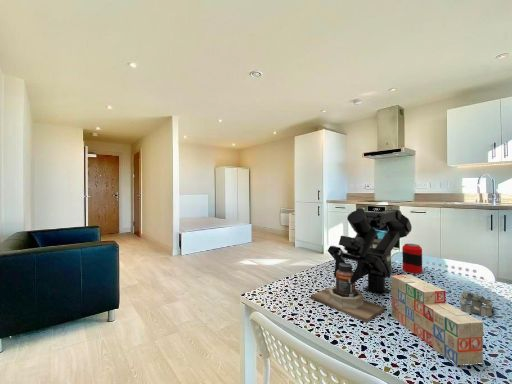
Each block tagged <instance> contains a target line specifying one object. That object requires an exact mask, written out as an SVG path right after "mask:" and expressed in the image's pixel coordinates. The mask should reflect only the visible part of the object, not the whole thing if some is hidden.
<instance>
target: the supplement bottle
mask: <svg viewBox="0 0 512 384" xmlns="http://www.w3.org/2000/svg"><path fill="white" fill-rule="evenodd" d="M339 268H340V269H338V270H337V271H336V277H335V286H336V295H339V296H341V297H352V298H354V297H356V296H355V289H356V282H354V283H353V284H352V283H350V280H351V277H352V275H353V273H354V271H355V270H354V271H353V266H352V264H351V263H348V262H346V263H340V264H339Z"/></svg>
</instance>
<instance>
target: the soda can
mask: <svg viewBox="0 0 512 384" xmlns="http://www.w3.org/2000/svg"><path fill="white" fill-rule="evenodd" d="M401 249H402V251H401V253H402V270H403V272H405V273H409V274H418V273H419V274H422V273H423V249H422V247H421V245H420V244H416V243H405V244H404V245H403V246H402V248H401Z"/></svg>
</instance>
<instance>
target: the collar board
mask: <svg viewBox="0 0 512 384" xmlns="http://www.w3.org/2000/svg"><path fill="white" fill-rule="evenodd" d="M355 296H356V297H354V298H352V297H341V296H339V295H336V285H334V286H332V287H330V286H329V287H327V288H325V289H322V290H320V291H318V292H315V293H312V294H311V295H310V296H309V297H310V299H311V300H313V301H315V302H318V303H320V304H323V305H324V306H327V307H329V308H332V309H334V310H336V311H338V312H341V313H343V314H345V315H348V316H350V317H352V318H355V319H356V320H359V321H361V322H364V323H368V322H370V321H371V320H373V319H374V318H376V317H377V316H379V315H380V314H382V313H384V312H385V310H386V309H385V307H384V306H383V305H379V304H376V303H374V302H370V301H367V300H365V299H364V295H363V293H362V292H361V290H360V289H357V288H355Z"/></svg>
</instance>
